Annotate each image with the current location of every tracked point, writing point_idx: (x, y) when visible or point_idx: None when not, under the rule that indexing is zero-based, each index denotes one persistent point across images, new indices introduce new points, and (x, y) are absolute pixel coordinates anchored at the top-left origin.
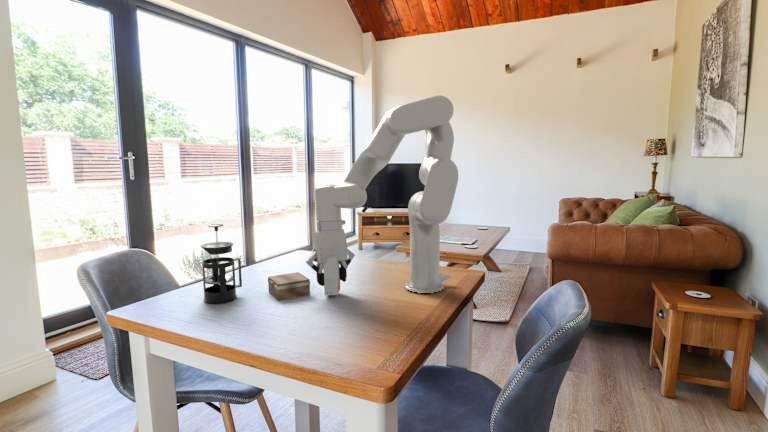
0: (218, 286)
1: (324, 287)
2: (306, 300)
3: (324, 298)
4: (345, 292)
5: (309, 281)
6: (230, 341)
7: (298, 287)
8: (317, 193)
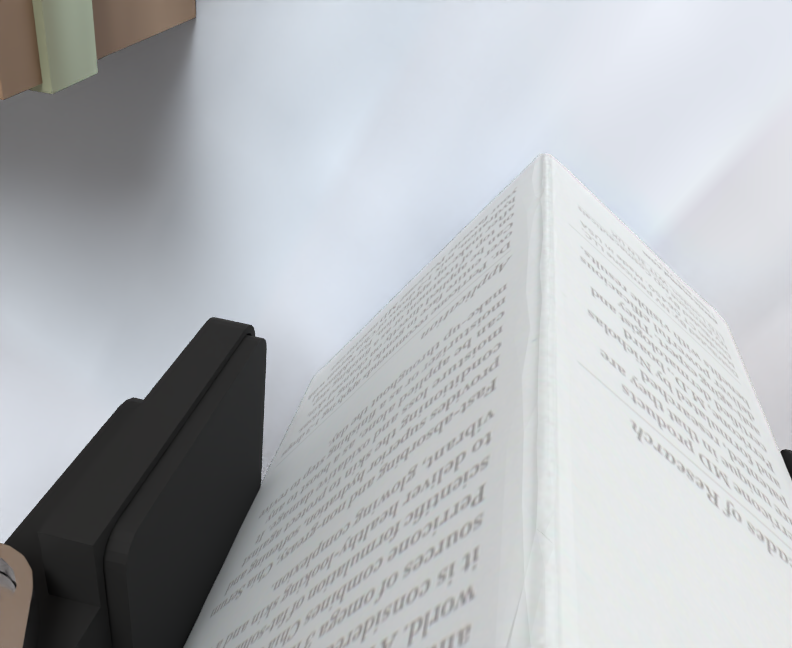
0: None
1: (274, 462)
2: (56, 235)
3: (323, 341)
4: (780, 341)
5: (39, 85)
6: None
7: None
8: None
